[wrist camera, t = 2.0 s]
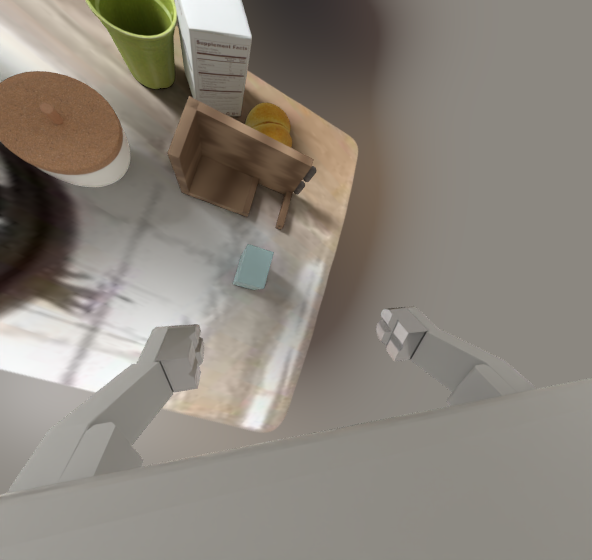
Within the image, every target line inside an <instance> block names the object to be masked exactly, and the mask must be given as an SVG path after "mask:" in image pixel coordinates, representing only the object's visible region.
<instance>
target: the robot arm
mask: <svg viewBox="0 0 592 560" xmlns="http://www.w3.org/2000/svg"><path fill="white" fill-rule="evenodd" d="M381 317H382V319H381V320H380V321H379V322H378V323H377V326H376V333H377V335H378V338H379V340H380V341H381V342H382V343H384V344H386V350H387V352H388V353H389V355H390V356H391V358H392V359H393V361H402V360H411V361H412V362H413V363H415V364H416V365H417V366H418V367H420V368H421V369H422V370H424V371H425V372H426V373H428V374H429V375H430V376H432V377H433V378H434V379H436V380H437V381H438V382H440V383H441V384H442V385H444V386H445V387H446V388H448V389H449V390H450V391H451V392H452V394H451V395H450V396H449V397H448V398H447V403H448V404H449V405H450V406H447V407H443V408H437V409H432V410H427V411H422V412H417V413H412V414H407V415H402V416H397V417H391V418H386V419H381V420H376V421H371V422H366V423H361V424H356V425H351V426H346V427H341V428H336V429H331V430H325V431H320V432H315V433H311V434H305V435H300V436H295V437H290V438H285V439H280V440H274V441H269V442H264V443H259V444H254V445H249V446H244V447H239V448H234V449H229V450H224V451H219V452H214V453H209V454H204V455H199V456H193V457H189V458H184V459H178V460H173V461H168V462H163V463H158V464H153V465H148V466H143V467H141V466H142V463H143V459H142V457H141V456H140V455H139V453H138V452H137V451H136V450H135V449H134V448H133V446H132V445H133V444H134V442H135V441H136V440H137V438H138V437H139V436H140V435H141V434H142V432H143V431H144V430H145V429H146V427H147V426H148V425H149V424H150V422H151V421H152V420H153V418H154V417H155V416H156V415H157V414H158V412H159V411H160V410H161V409H162V407H163V406H164V405H165V403H166V402H167V401H168V400H169V398H170V397H171V396H172V395H173V392H179V391H185V390H191V389H197V388H198V384H199V379H200V374H201V371H200V367H199V366H200V365H201V364H202V362H203V358H204V342H203V339H202V338H201V337H200V332H201V330H200V326H199V325H198V324H194V325H177V326H165V327H156V328H154V329H153V330H152V332H151V335H150V337H149V339H148V341H147V343H146V345H145V347H144V349H143V351H142V353H141V355H140V357H139V359H138V361H137V364H132V365H130V366H129V367H128V368H126V369H125V370H124V371H123V372H121V373H120V374H119V375H118V376H116V377H115V378H114V379H113V380H111V381H110V382H109V383H108V384H106V385H105V386H104V387H102V388H101V389H100V390H99V391H97V392H96V393H95V394H94V395H93V396H91V397H90V398H89V399H87V400H86V401H85V402H84V403H82V404H81V405H80V406H79V407H77V408H76V409H75V410H73V411H72V412H71V413H70V414H68V415H67V416H66V417H65V418H63V419H62V420H61V421H60V422H58V423H57V424H56V425H55V426H53V427H52V428H51V429H49V431H48V432H47V434H46V435H45V436H44V438H43V439H42V441H41V442H40V444H39V445H38V447H37V448H36V450H35V451H34V453H33V454H32V456H31V457H30V459H29V460H28V462H27V463H26V465H25V466H24V468H23V469H22V471H21V472H20V474H19V475H18V477H17V478H16V480H15V481H14V482H13V484H12V486H11V487H10V489H9V490H8V492H7V493H6V494H1V495H0V560H592V378H590V379H585V380H580V381H575V382H569V383H564V384H559V385H554V386H549V387H544V388H539V389H537V388H536V387H535V386H534V385H533V384H531V383H530V382H529V381H528V380H527V379H525V378H524V377H523V376H522V375H521V374H520V373H519V372H517V371H516V370H515V369H514V368H513V367H512V366H511V365H509V364H508V363H507V362H506V361H505V360H503V359H501V358H499V357H497V356H495V355H492V354H491V353H489V352H487V351H485V350H483V349H480V348H478V347H476V346H474V345H472V344H470V343H468V342H466V341H464V340H462V339H460V338H458V337H456V336H454V335H452V334H450V333H448V332H446V331H444V330H439V329H438V328H437V327H436V326H435V325H434V324H433V323H432V322H431V321H430V320H429V319H428V318H427V317H426V316H425V315H424V314H423V313H422V312H421V311H420V310H419V309H418V308H417V307H414V306H409V307H401V308H400V307H399V308H388V309H384V310H383V311H382V313H381Z"/></svg>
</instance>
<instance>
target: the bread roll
mask: <svg viewBox="0 0 592 560" xmlns="http://www.w3.org/2000/svg"><path fill="white" fill-rule="evenodd" d="M245 125H247V126H249V127H251V128H253V129H255V130H257V131H259V132H261V133H263V134H265V135H267V136H269V137H271V138H273V139H275V140H277V141H278V142H280V143H282V144H284V145H286V146H288V147H290V148H291V147H292V138H291V136H290V134H289V133H290V127H291V126H290V121H289V119H288V117H287V115H286V114H285V112H284V111H283V110H282V109H280V108H279V107H277V106H276V105H274V104H271V103H260V104H258V105H256V106H255V107H254V108H253V109H252V110H251V111H250V112H249V114H248V116H247V118H246V121H245Z"/></svg>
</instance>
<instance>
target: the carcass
mask: <svg viewBox="0 0 592 560" xmlns="http://www.w3.org/2000/svg"><path fill="white" fill-rule="evenodd" d="M167 154H168V156H169V159H170V162H171V165H172V167H173V170H174V173H175V175H176V178H177V181H178V184H179V186H180V189H181V192H182V193H184V194H187V195H189V196H192V197H195V198H198V199H200V200H203V201H206V202H208V203H211V204H214V205H216V206H219V207H222V208H224V209H227V210H230V211H232V212H235V213H238V214H240V215H243V216H246V217H248V214H249V211H250V208H251V205H252V201H253V198H254V195H255V191H256V188H257V185H258V184H261V185H263V186H265V187H267V188H270V189H272V190H274V191H277V192H279V193H281V194H284V199H283V202H282V206H281V210H280V213H279V217H278V220H277V224H276V228H278V229H280V230H281V229H282V228H283V226H284V222H285V219H286V215H287V211H288V208H289V204H290V200H291V197H292V193H293V192H294V193H295V194H299V193H300V192H301V191H302V189H303V188H304V187H305V183H304V182H303V181H302V179H303V180H304V181H305V182H309V181H310V179H311V178H312V177H313V176H314V174H315V173H316V168H315V167H314V166H312V164H313V160H314V159H312V158H310V157H308V156H306V155H304V154H302V153H300V152H298V151H296V150H294V149H292V148H290V147H288V146H286V145H284V144H282V143H280V142H278V141H277V140H275V139H273V138H271V137H269V136H267V135H265V134H263V133H261V132H259V131H257V130H255V129H253V128H251V127H249V126H247V125H245V124H243V123H241V122H239V121H237V120H235V119H233V118H231V117H229V116H227V115H225V114H223V113H222V112H220V111H218V110H216V109H214V108H212V107H210V106H208V105H206V104H204V103H202V102H200V101H198V100H196V99H194V98H192V97H190V96H189V97H188V100H187V102H186V105H185V108H184V110H183V113H182V116H181V118H180V121H179V123H178V126H177V129H176V131H175V134H174V137H173V139H172V142H171V145H170V147H169V150H168V153H167Z"/></svg>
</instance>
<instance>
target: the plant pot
mask: <svg viewBox="0 0 592 560" xmlns="http://www.w3.org/2000/svg"><path fill="white" fill-rule="evenodd" d="M85 1H86V3H87V4H88V6H89V8H90V9H91V10H92V12H93V13H94V14H95V15H96V16H97V17H98V18H99V19H100V21H101V22H102V24H103V25H104V26H105V27H106V28H107V30H108V32H109V33H110V35H111V37H112V39H113V41H114V42H115V44H116V46H117V48H118V50H119V52H120V53H121V55H122V57H123V59H124V61H125V63H126V64H127V66H128V68H129V70H130V72H131V73H132V75H133V76H134V77H135V79H136V80H137V81H139V82H140V83H141V84H143V85H145V86H147V87H149V88H152V89H158V88H168V87H169V86H171V85H172V84H173V82H174V79H175V64H174V42H173V35H174V30H175V26H176V22H177V11H176V5H175V2H174V0H85Z"/></svg>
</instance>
